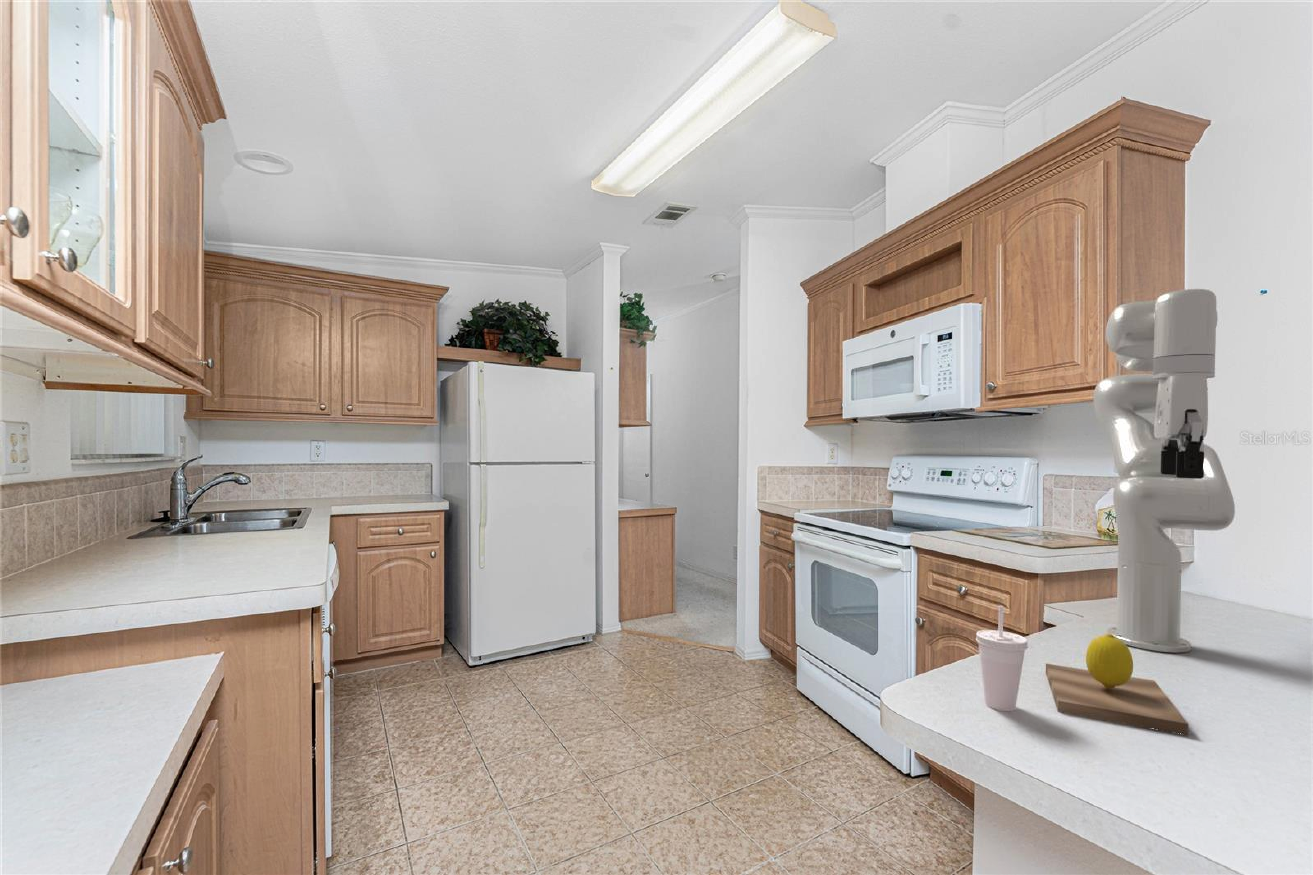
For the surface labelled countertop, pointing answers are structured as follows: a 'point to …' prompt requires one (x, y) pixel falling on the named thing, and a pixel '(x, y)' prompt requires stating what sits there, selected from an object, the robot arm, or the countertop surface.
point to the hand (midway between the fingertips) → (1180, 476)
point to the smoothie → (1001, 665)
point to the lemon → (1109, 661)
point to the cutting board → (1114, 700)
